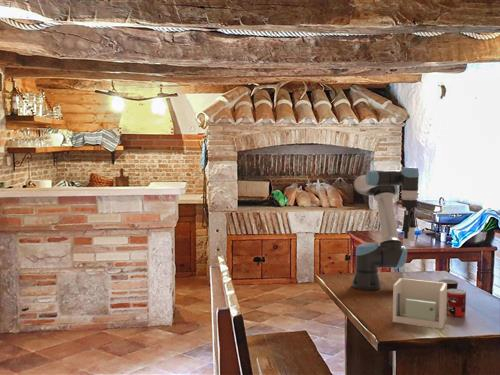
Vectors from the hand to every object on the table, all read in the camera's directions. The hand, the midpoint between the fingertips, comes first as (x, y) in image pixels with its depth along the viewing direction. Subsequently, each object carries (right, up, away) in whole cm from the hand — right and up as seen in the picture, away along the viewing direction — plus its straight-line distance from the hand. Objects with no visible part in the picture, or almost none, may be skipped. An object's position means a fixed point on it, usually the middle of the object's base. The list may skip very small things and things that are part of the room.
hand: (408, 243), depth 252 cm
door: (-5, -31, -31) cm, 44 cm away
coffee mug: (+20, -29, +3) cm, 35 cm away
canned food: (+15, -30, -19) cm, 39 cm away
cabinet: (-3, -31, -26) cm, 41 cm away
